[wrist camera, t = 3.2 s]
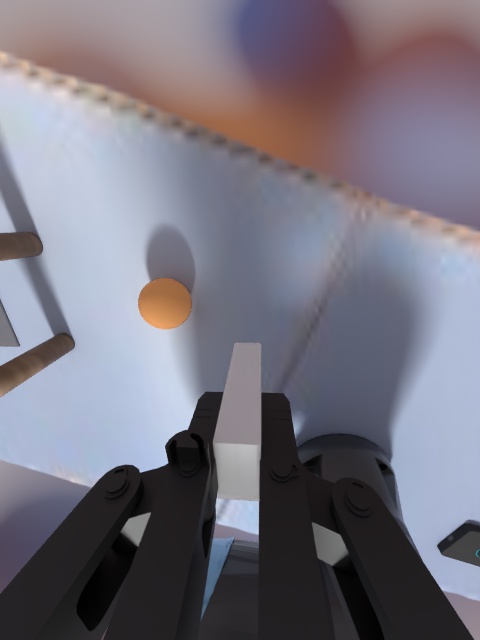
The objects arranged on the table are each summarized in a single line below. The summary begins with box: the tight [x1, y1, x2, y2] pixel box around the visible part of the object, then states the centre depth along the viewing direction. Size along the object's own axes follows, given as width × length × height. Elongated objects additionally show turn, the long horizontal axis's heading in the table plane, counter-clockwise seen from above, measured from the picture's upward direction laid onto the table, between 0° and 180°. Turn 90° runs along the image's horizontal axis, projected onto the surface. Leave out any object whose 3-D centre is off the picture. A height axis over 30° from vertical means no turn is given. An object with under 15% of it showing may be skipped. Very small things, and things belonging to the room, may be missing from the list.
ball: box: [138, 278, 192, 329], centre depth 25 cm, size 6×6×6 cm
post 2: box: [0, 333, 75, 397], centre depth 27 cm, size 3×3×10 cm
